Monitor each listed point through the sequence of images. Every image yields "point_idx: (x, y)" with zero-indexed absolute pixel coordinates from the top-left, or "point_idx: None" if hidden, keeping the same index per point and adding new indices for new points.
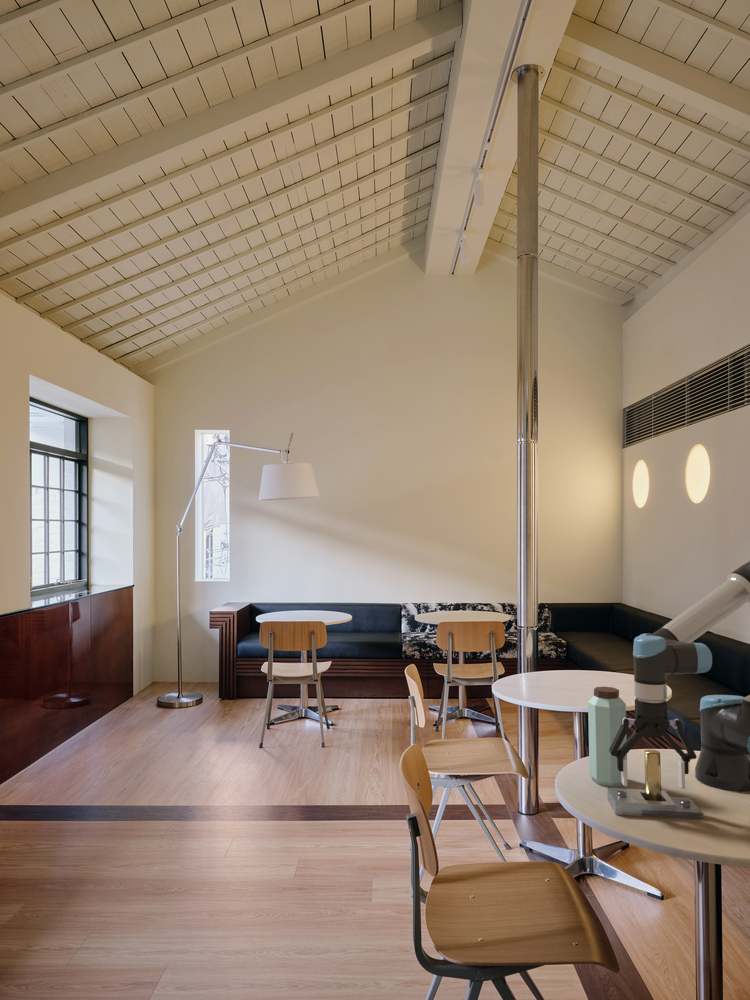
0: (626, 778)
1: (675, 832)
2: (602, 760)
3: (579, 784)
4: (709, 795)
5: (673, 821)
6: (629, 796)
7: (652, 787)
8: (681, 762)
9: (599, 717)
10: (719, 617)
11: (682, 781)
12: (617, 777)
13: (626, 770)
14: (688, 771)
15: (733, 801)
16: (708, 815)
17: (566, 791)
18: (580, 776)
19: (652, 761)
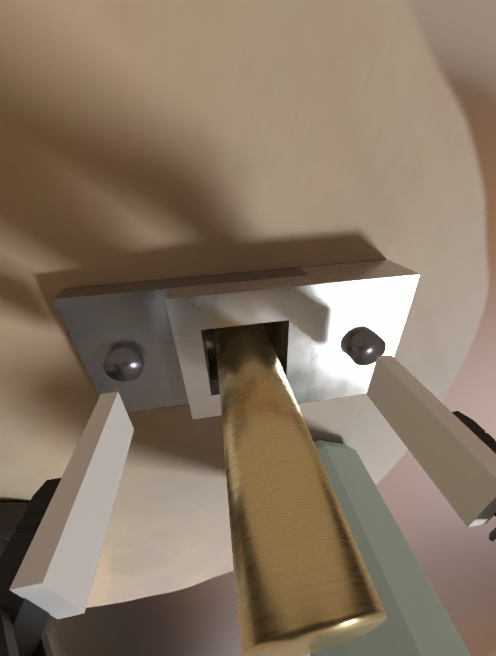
0: (405, 381)
1: (195, 104)
2: (375, 510)
3: (390, 430)
4: (53, 462)
5: (186, 242)
6: (338, 342)
7: (267, 366)
8: (43, 575)
9: None
10: None
11: (100, 423)
12: None
13: (438, 415)
14: (32, 501)
15: None
16: (44, 329)
17: (444, 387)
18: (367, 465)
19: (312, 517)
